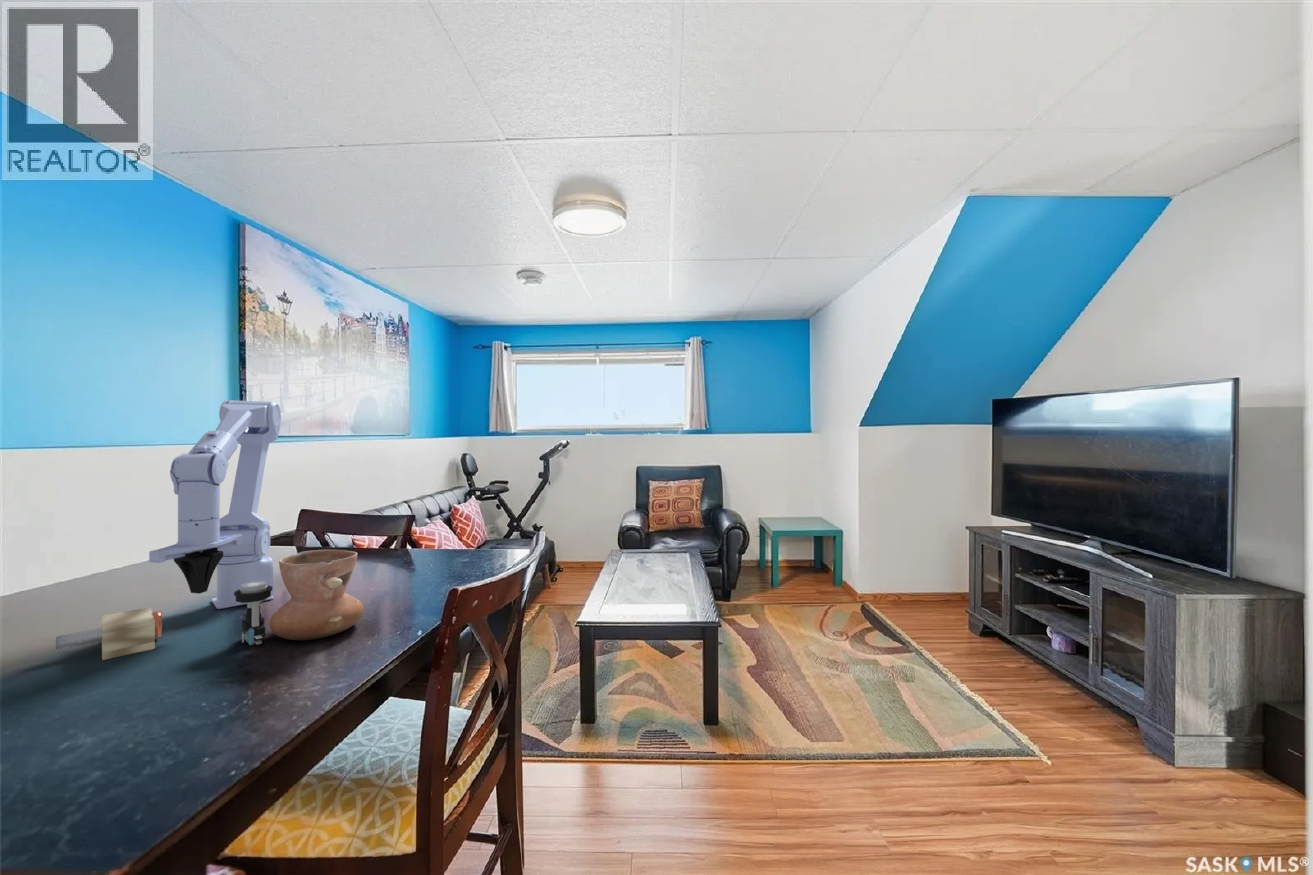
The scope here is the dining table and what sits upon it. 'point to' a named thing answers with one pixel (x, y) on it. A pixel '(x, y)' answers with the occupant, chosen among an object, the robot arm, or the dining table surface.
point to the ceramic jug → (316, 595)
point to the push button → (253, 610)
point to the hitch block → (127, 633)
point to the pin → (96, 635)
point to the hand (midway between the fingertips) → (198, 592)
